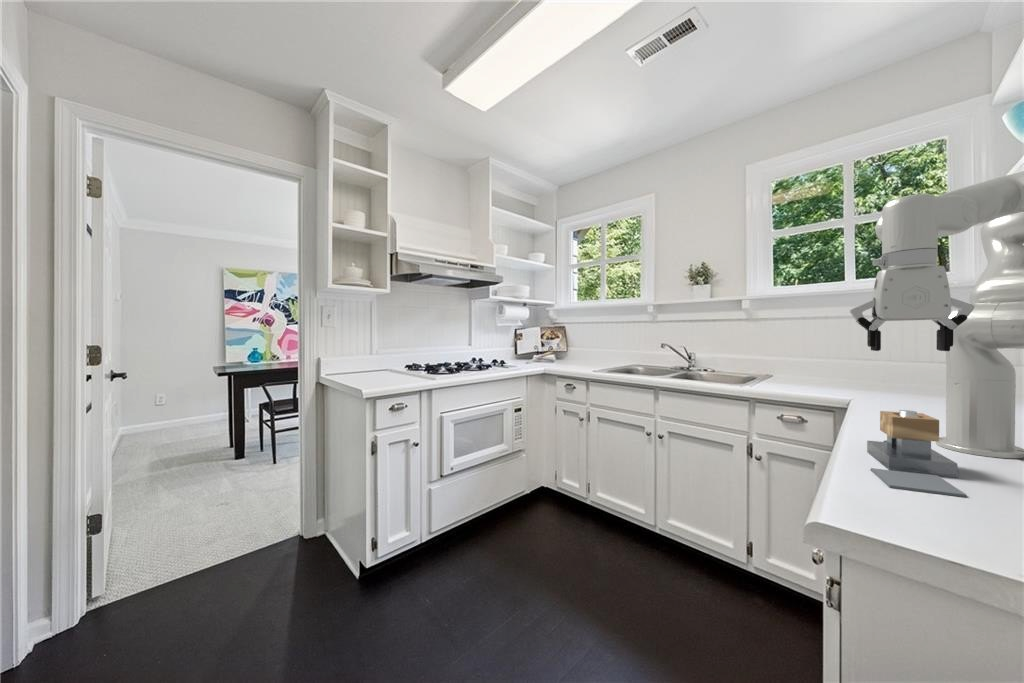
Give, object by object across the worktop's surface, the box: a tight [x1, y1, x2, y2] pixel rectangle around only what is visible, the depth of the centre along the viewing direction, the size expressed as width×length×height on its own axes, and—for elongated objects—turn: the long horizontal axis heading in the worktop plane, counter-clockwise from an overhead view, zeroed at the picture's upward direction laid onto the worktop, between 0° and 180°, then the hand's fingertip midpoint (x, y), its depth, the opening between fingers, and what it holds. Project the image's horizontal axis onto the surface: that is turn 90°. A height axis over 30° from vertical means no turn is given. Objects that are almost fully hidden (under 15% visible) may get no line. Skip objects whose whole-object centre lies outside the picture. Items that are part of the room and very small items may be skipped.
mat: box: [870, 467, 968, 498], centre depth 67 cm, size 9×9×1 cm
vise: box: [866, 409, 958, 478], centre depth 78 cm, size 17×9×10 cm, turn 152°
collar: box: [879, 410, 940, 443], centre depth 76 cm, size 6×6×4 cm
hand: (908, 350), depth 75 cm, fingers open, 9 cm apart
